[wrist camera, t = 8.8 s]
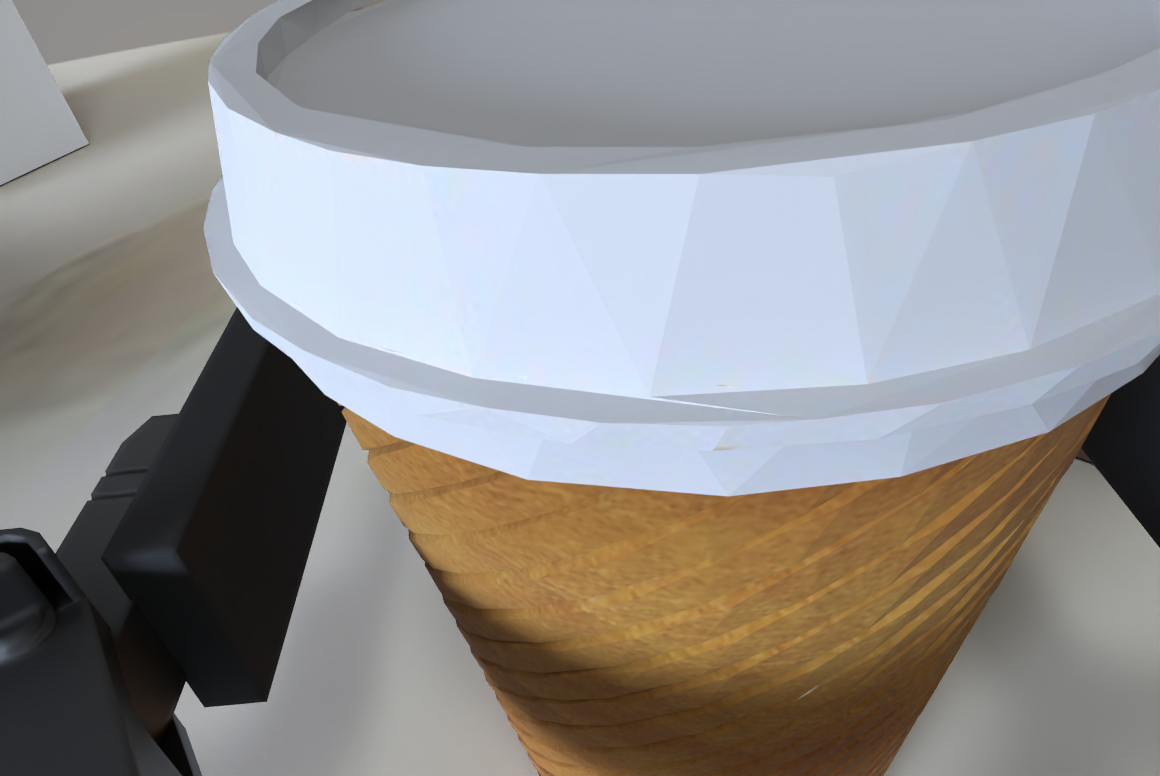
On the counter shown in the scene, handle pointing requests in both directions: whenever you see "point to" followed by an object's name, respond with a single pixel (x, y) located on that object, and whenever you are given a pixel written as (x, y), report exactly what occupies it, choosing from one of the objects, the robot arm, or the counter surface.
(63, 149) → the milk
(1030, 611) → the counter surface
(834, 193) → the disposable coffee cup
